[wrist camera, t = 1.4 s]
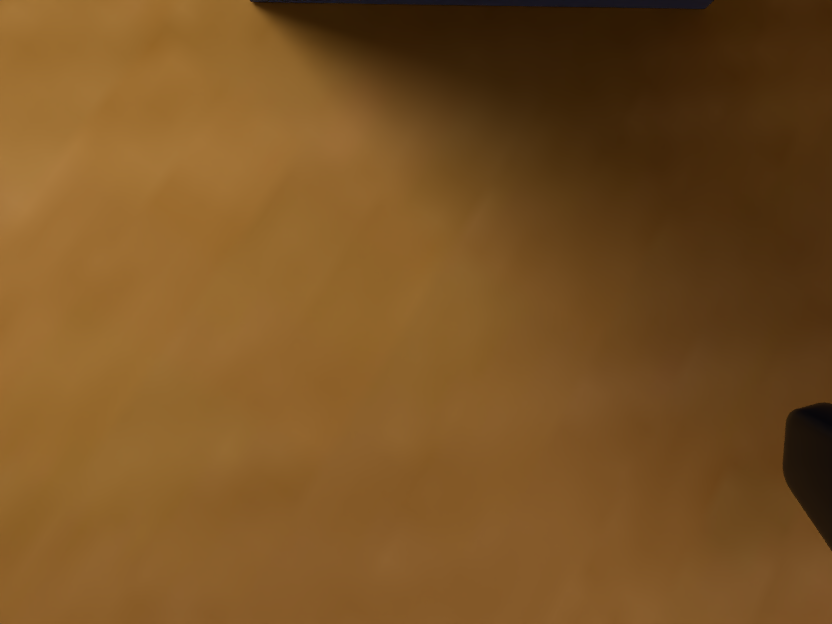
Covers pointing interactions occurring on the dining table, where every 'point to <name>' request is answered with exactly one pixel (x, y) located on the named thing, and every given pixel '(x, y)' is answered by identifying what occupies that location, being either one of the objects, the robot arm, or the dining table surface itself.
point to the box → (530, 3)
